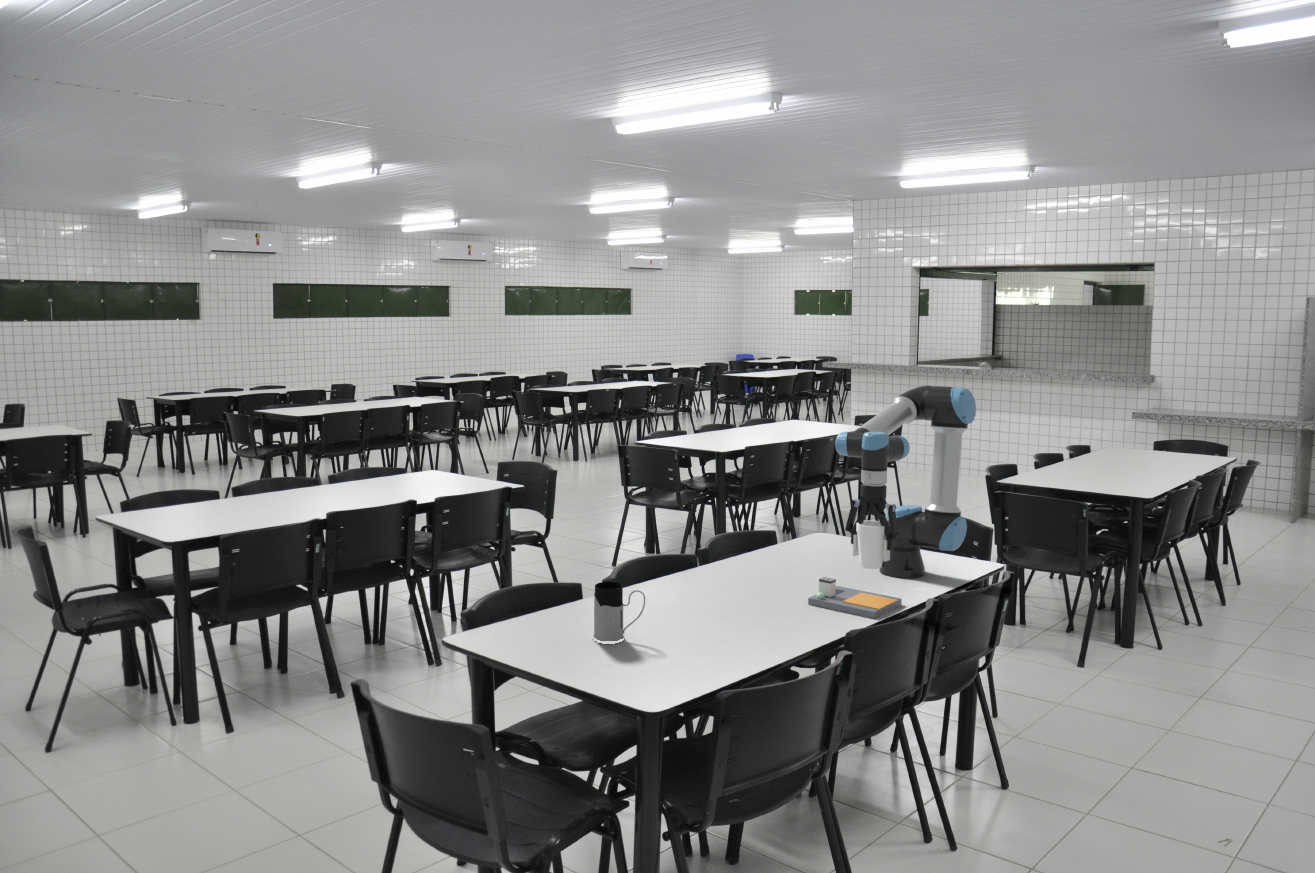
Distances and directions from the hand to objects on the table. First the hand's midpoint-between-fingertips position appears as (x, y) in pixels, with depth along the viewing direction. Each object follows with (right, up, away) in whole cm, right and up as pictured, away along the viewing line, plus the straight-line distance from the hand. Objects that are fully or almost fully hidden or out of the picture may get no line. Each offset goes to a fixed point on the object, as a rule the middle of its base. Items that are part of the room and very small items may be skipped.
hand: (871, 557), depth 289 cm
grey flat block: (-4, -15, +5) cm, 16 cm away
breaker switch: (-12, -12, +8) cm, 19 cm away
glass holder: (-75, -19, -28) cm, 82 cm away
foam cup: (0, -3, 0) cm, 3 cm away
